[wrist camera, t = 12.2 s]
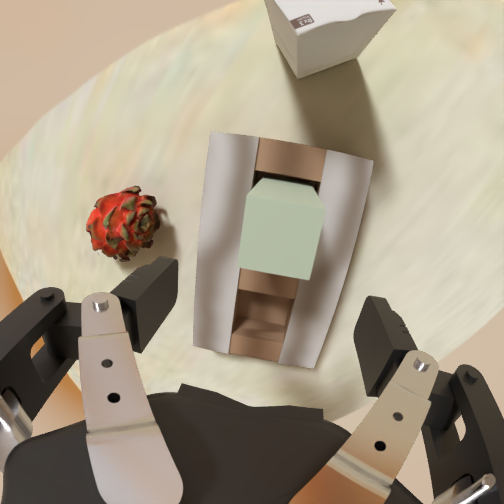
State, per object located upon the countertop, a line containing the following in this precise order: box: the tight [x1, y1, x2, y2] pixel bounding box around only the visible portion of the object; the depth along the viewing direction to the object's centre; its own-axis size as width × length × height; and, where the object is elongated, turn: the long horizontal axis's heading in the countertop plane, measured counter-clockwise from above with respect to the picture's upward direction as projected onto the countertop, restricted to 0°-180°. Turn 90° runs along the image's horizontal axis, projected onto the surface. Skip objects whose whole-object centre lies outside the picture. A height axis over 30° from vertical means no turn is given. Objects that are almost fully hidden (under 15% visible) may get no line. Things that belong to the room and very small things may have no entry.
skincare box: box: [264, 0, 396, 79], centre depth 18 cm, size 8×6×15 cm
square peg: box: [237, 175, 326, 280], centre depth 25 cm, size 5×5×14 cm
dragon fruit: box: [86, 186, 160, 262], centre depth 32 cm, size 8×8×12 cm
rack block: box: [193, 132, 374, 369], centre depth 32 cm, size 16×26×5 cm, turn 172°
